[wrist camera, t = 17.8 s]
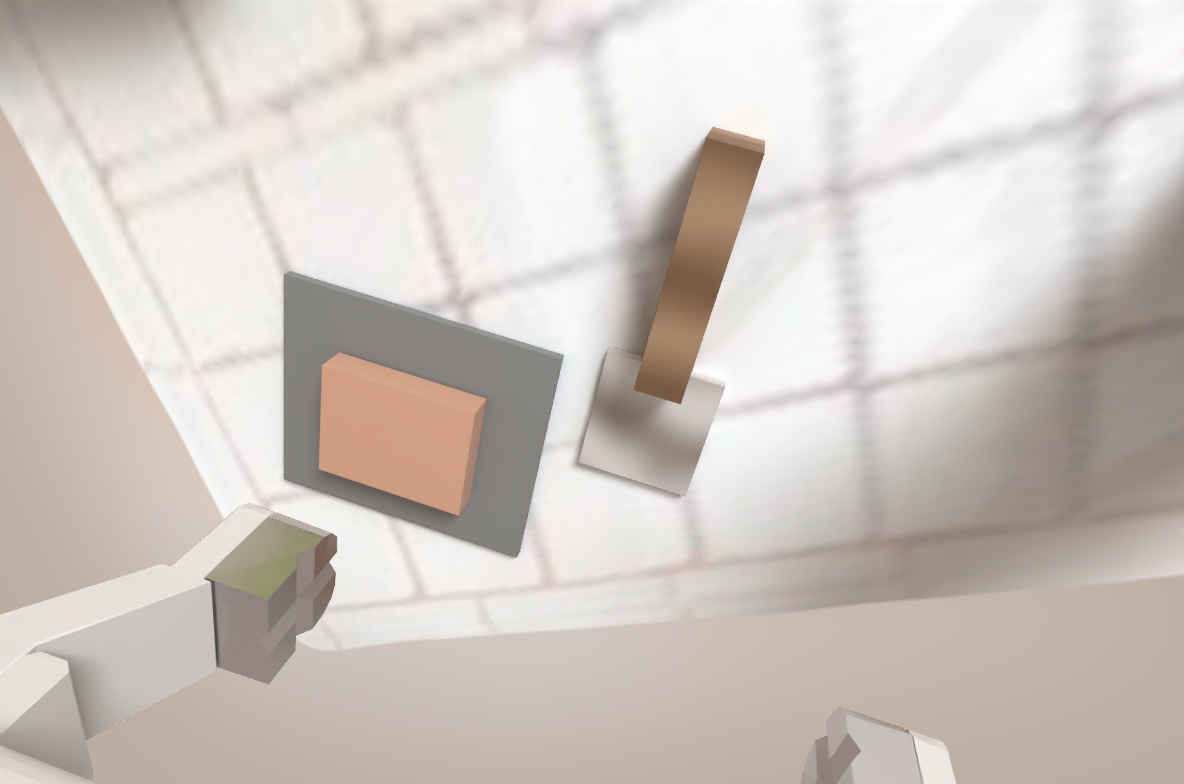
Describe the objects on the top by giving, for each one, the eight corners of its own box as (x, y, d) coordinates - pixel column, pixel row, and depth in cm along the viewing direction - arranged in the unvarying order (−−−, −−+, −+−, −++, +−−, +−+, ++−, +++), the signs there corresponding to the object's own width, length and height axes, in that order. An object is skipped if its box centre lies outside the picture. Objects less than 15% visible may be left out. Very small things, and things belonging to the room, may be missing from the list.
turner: (670, 115, 34) (658, 124, 31) (808, 152, 34) (813, 166, 30) (581, 455, 45) (563, 494, 41) (686, 489, 44) (678, 532, 40)
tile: (475, 413, 42) (458, 515, 45) (487, 397, 43) (470, 496, 47) (322, 365, 43) (318, 469, 46) (340, 351, 44) (336, 452, 48)
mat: (563, 355, 42) (561, 359, 41) (519, 552, 49) (516, 557, 49) (289, 271, 43) (283, 274, 43) (288, 474, 51) (284, 478, 51)
